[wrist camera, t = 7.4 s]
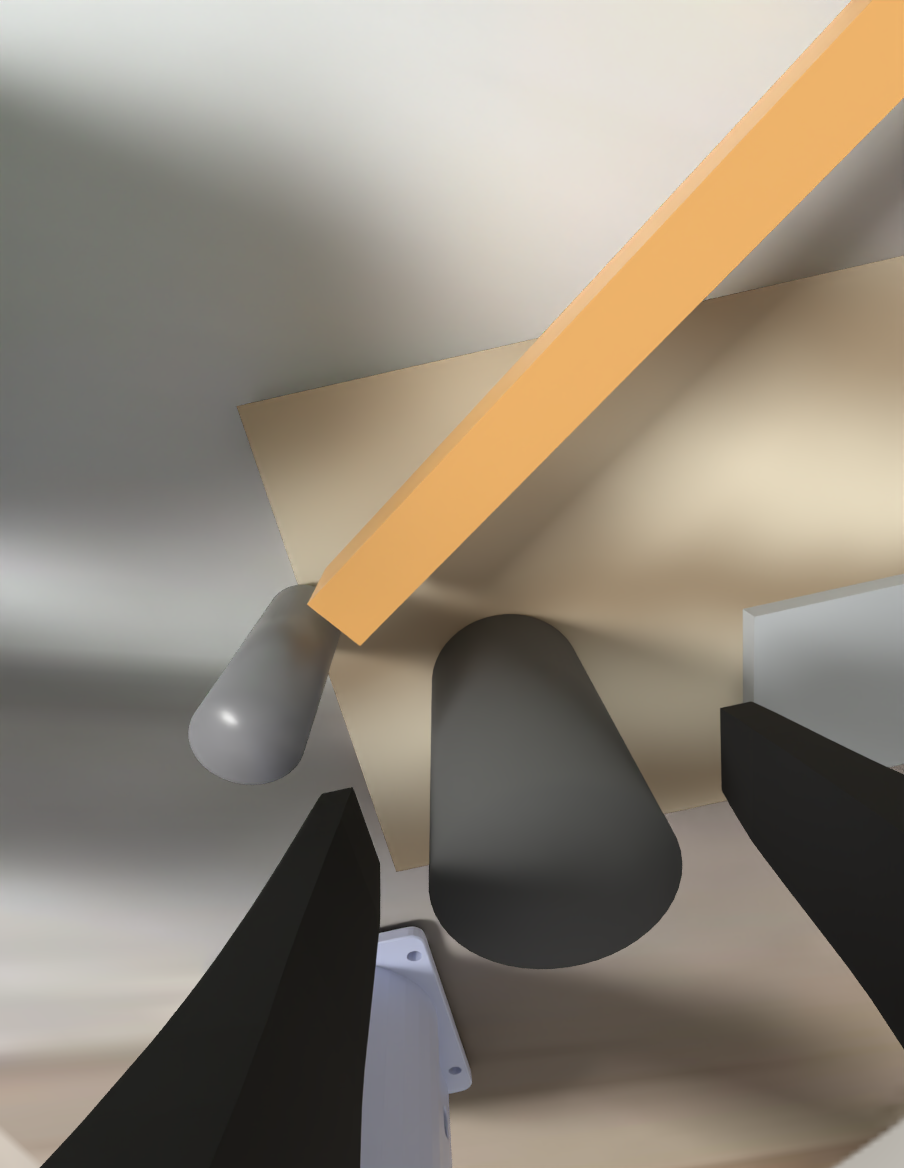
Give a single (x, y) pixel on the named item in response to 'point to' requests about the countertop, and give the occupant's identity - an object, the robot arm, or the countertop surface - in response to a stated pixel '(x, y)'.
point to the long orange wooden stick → (556, 385)
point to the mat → (833, 664)
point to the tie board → (617, 519)
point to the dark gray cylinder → (538, 805)
